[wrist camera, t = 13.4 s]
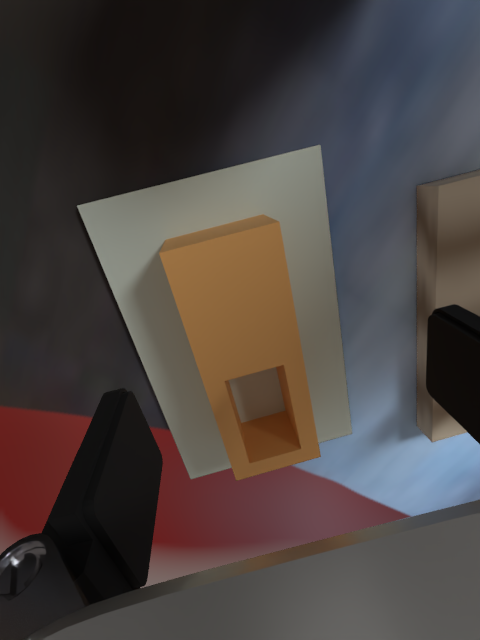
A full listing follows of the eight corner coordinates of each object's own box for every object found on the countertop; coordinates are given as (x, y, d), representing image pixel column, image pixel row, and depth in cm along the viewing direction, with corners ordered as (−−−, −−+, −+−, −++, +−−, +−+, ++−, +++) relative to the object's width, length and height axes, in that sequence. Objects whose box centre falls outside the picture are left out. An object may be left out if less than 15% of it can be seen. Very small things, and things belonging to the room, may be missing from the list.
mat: (79, 205, 18) (76, 205, 18) (317, 145, 19) (320, 144, 18) (190, 475, 27) (190, 479, 27) (350, 430, 28) (352, 433, 27)
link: (302, 418, 26) (320, 456, 22) (230, 438, 26) (236, 480, 22) (262, 213, 19) (279, 221, 16) (165, 239, 19) (158, 253, 16)
